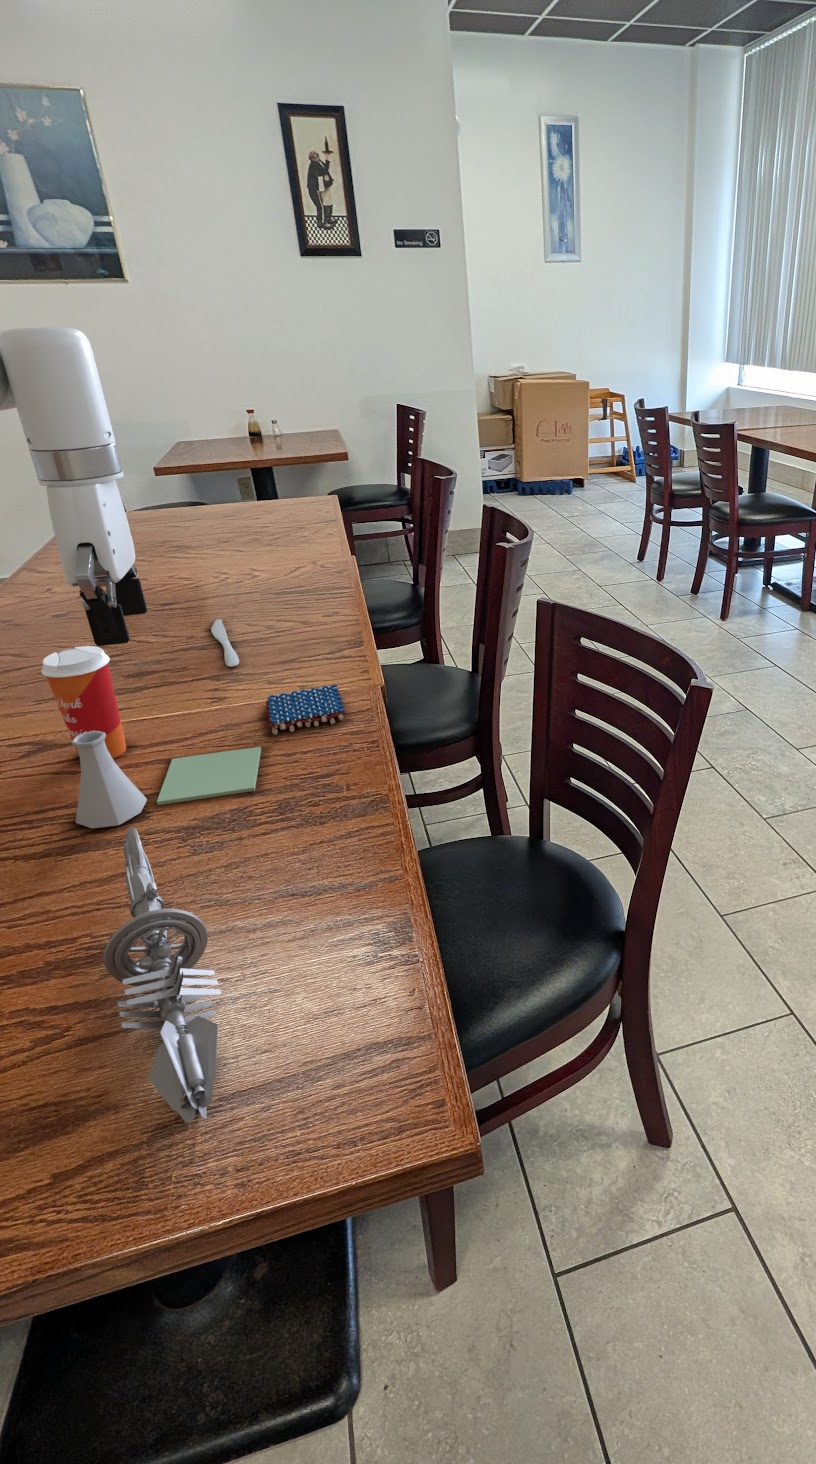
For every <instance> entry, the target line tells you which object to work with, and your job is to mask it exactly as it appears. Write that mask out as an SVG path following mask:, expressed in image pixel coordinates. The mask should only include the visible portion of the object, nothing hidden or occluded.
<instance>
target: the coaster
mask: <svg viewBox="0 0 816 1464" xmlns="http://www.w3.org/2000/svg"><path fill="white" fill-rule="evenodd" d="M261 754H262V746H254V747H247V748H239V749H232V750H225V751H218V752H210V753H204V754H197V755H189V756H182V757H175V758H171V760H170V763H169V766H168V769H167V772H166V774H165V776H164V780H163V783H162V785H161V788H160V791H159V793H158V797H157V800H156V806H163V805H169V804H177V803H182V802H183V803H184V802H189V801H195V800H196V801H197V800H203V799H209V798H216V797H224V796H229V795H236V794H242V793H250V792H255V791H256V785H257V779H258V774H259V766H260V761H261Z"/></svg>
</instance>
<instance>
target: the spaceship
mask: <svg viewBox="0 0 816 1464" xmlns="http://www.w3.org/2000/svg"><path fill="white" fill-rule="evenodd" d="M123 856H124V859H125V860H124V867H125V882H126V890H127V895H129V896H128V900H129V901H130V907H129V914H130V915H131V916H132V917H133V918H130V919H129V920H128V921H126V922H125V923H123V924H122V925H121V926H120V927H119V928H118V929H117V930H116V931H115V932H114V933H113V934H112V936H111V937H110V938H109V940H108V942H107V943H106V946H105V949H104V951H103V952H104V953H103V964H104V967H105V969H106V971H107V973H108V974H109V975H110V976H111V977H112V978H113V979H115V980H116V981H118V982H119V983H122V985H124V986H125V985H128V986H132V987H131V988H130V987H129V988H125V989H124V995H125V996H129V995H133V994H139V993H143V992H149V991H153V990H154V991H155V992H153V993H149V994H145V995H142V996H138V997H134V998H129V999H126V1000H119V1001H117V1006H118V1007H120V1008H121V1007H122V1008H152V1009H153V1008H154V1009H158V1010H135V1011H134V1010H133V1011H132V1010H131V1011H130V1010H129V1011H128V1010H127V1011H119V1017H120V1018H136V1019H137V1018H138V1019H139V1018H142V1019H143V1018H144V1019H157V1020H153V1021H152V1020H150V1021H149V1020H148V1021H122V1022H120V1023H121V1028H123V1029H159V1035H160V1037H161V1040H162V1041H161V1042H162V1043H161V1044H160V1045H159V1046H158V1047H157V1051H156V1054H155V1057H154V1060H153V1063H152V1065H151V1068H150V1070H149V1071H150V1072H149V1073H148V1076H147V1077H148V1079H149V1081H150V1082H151V1083H152V1084H153V1086H154V1087H155V1089H156V1090H157V1091H158V1093H159V1094H160V1096H161V1097H162V1098H163V1099H164V1100H165V1102H166V1103H167V1104H168V1106H169V1107H170V1108H171V1110H172V1111H173V1112H177V1114H179V1116H180V1117H181V1118H182V1120H183V1121H184V1122H185V1123H186V1124H189V1123H191V1122H192V1121H193V1120H195V1117H197V1116H198V1115H200V1116H201V1117H202V1118H203V1119H205V1120H207V1119H208V1111H207V1108H208V1106H209V1105H211V1104H212V1102H213V1092H214V1091H213V1090H214V1080H215V1079H216V1076H217V1057H218V1056H217V1055H218V1038H219V1024H218V1023H216V1022H215V1021H214V1022H213V1021H211V1020H208V1018H212V1017H215V1016H216V1015H217V1013H216V1010H210V1011H204V1012H200V1013H196V1014H192V1015H187V1016H185V1014H187V1013H191V1012H194V1011H197V1010H201V1009H206V1008H209V1007H212V1006H214V1004H213V1001H212V1000H207V1001H206V1000H205V1001H203V1002H198V1003H193V1004H189V1005H186V1003H188V1002H192V1001H195V1000H199V999H203V998H206V997H209V996H210V995H211V996H213V995H214V996H215V995H219V996H220V995H222V991H221V989H217V988H199V987H197V988H196V987H182V986H217V985H219V982H218V979H213V978H211V979H209V978H192V977H191V978H190V977H185V976H216V972H215V970H213V969H199V968H198V969H197V968H193V967H194V966H195V965H196V964H197V963H198V962H199V961H200V959H201V958H202V956H203V954H205V953H204V952H205V951H206V948H207V946H208V942H209V932H208V928H207V926H206V924H205V923H204V921H203V920H202V919H201V918H200V917H199V916H197V915H196V914H194V913H192V912H190V911H187V910H183V909H179V908H164V907H165V901H164V899H163V898H162V897H161V896H160V894H159V892H158V887H157V884H156V882H155V877H154V873H153V870H152V866H151V864H150V860H149V858H148V856H147V854H146V852H145V851H144V848H143V843H142V842H141V838H140V835H139V833H138V831H137V829H136V828H135V827H133V826H129V828H127V831H126V836H125V840H124V843H123ZM169 930H174V931H176V932H175V933H174V934H172V935H171V936H169V937H168V938H167V935H168V932H169ZM182 936H184V938H183V939H184V941H183V943H174V944H172V943H173V942H175V941H177V940H178V939H179V938H181V937H182ZM175 937H176V938H175ZM173 938H175V939H173ZM139 939H141V940H142V941H143V943H144V945H145V946H135V947H134V945H135V943H136V941H137V940H139ZM172 939H173V940H172ZM172 950H177V951H176V952H174V951H173V953H172ZM129 953H144V955H143V956H142V957H140V958H139V959H137V960H134V959H133V958H131V957H130V955H129Z"/></svg>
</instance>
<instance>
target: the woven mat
mask: <svg viewBox="0 0 816 1464" xmlns="http://www.w3.org/2000/svg"><path fill="white" fill-rule="evenodd" d="M343 703H344V701H343V700H342V696H341V692H340V691H339V688H338V683H337V684H336V683H335V684H332V685H329V684H328V685H323V686H320V687H319V688H317V687H312V688H308V689H301V690H292V691H289V692H288V693H285V692H281V694H279V693H278V694H271V695H269V696H268V697H267V700H265V704H266V706H265V709H266V714H267V718H268V719H267V720H268V721H267V723H268V727H269V729H271V731H272V734H273V735H275V736H276V735H278V734H279V730H278V729H280V730H282V731H284V730H287V728H288V730H289V732H292V733H293V732H295V726H294V725H296V726H297V727H298V729H299V728H302V727H303V723H304V724H305V727H306V728H310V727H311V723H312V722H313V726H314V727H319V724H320V723H319V722H321V723H327V722H328V720H329V722H330V724H331V725H335V723H336V720H335V718H336V717H337V719H338V720H340V721H342V720H343V719H344V715H347V712H346V709H345V705H344V704H343Z"/></svg>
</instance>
